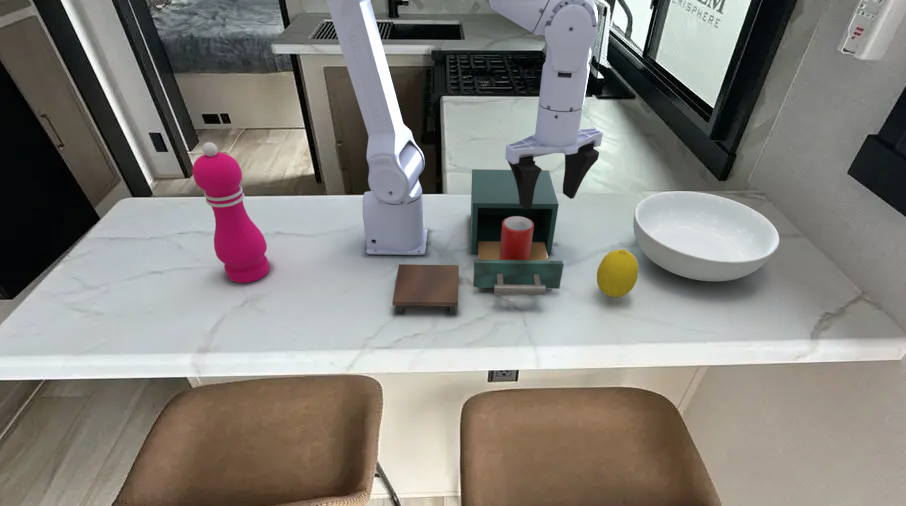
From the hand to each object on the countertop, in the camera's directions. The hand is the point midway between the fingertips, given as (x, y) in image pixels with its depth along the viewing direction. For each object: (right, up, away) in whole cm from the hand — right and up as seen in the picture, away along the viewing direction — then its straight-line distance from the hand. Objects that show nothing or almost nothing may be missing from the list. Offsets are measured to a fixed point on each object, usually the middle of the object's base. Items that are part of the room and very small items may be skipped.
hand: (547, 200), depth 75 cm
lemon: (+9, -14, 0) cm, 17 cm away
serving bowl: (+25, -8, +7) cm, 27 cm away
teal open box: (-4, -3, +12) cm, 13 cm away
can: (-4, -9, +3) cm, 10 cm away
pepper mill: (-46, -10, +4) cm, 47 cm away
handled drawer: (-5, -10, +2) cm, 11 cm away
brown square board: (-18, -14, 0) cm, 23 cm away
